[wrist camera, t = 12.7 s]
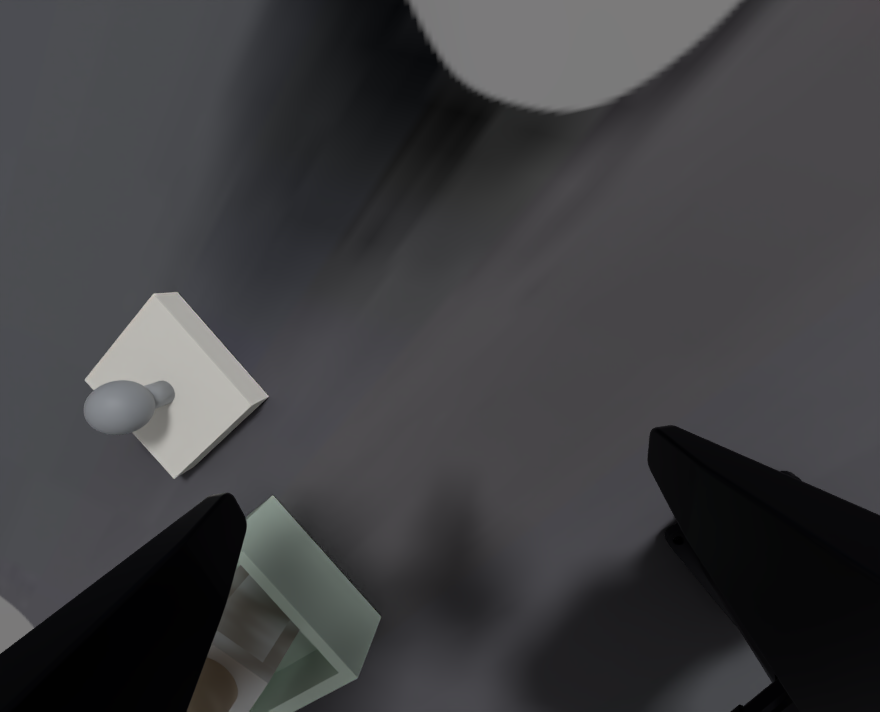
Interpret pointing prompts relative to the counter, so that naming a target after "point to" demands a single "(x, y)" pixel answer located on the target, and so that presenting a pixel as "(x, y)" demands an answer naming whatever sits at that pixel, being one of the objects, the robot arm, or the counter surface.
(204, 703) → the stamp
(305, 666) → the tray
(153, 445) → the stud plate
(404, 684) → the counter surface
